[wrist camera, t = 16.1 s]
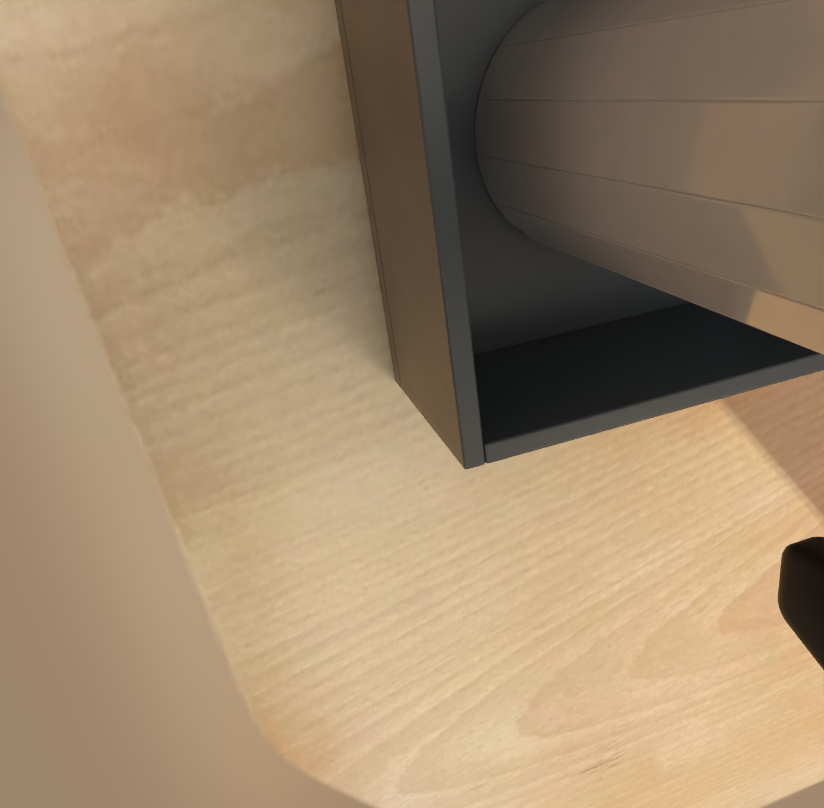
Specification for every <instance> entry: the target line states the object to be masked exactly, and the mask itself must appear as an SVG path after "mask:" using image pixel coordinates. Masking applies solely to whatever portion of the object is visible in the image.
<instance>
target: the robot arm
mask: <svg viewBox="0 0 824 808" xmlns="http://www.w3.org/2000/svg"><path fill="white" fill-rule="evenodd" d="M778 604H779V608H780V611H781V613H782V615H783V617H784V619H785V620H786V622H787V623H788V625H789V626H790V627H791V629H792V630H793V631H794V632H795V634H796V635H797V636H798V638H799V639H800V640H801V641H802V643H803V644H804V645H805V647H806V648H807V649H808V650H809V652H810V653H811V654H812V655H813V657H814V658H815V659H816V661H817V662H818V663H819V664H820V666H821V667H822V668H823V670H824V537H811V538H808V539H805V540H802V541H799V542H796V543H793V544H790V545H789V546H787V547H786V548H785V550H784V551H783V553H782V559H781V569H780V580H779V590H778Z"/></svg>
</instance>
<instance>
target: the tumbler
mask: <svg viewBox="0 0 824 808" xmlns="http://www.w3.org/2000/svg"><path fill="white" fill-rule="evenodd" d="M475 146H476V153H477V159H478V165H479V168H480V172H481V175H482V179H483V181H484V184H485V186H486V188H487V191H488V193H489V195H490V197H491V198H492V200H493V202H494V204H495V205H496V207H497V208H498V210H499V211H500V212H501V213H502V215H503V216H504V217H505V218H506V220H507V221H508V222H510V223H511V224H512V225H513V226H514V227H515V228H516V229H517V230H518V231H520V232H521V233H523V234H524V235H526V236H527V237H528V238H530V239H532V240H533V241H536V242H538V243H541V244H543V245H546V246H548V247H551V248H553V249H556V250H558V251H561V252H563V253H566V254H568V255H571V256H573V257H576V258H579V259H581V260H584V261H586V262H589V263H591V264H594V265H596V266H599V267H601V268H604V269H607V270H609V271H612V272H614V273H617V274H619V275H622V276H624V277H627V278H629V279H632V280H634V281H637V282H640V283H642V284H645V285H647V286H650V287H652V288H655V289H657V290H660V291H662V292H665V293H667V294H670V295H673V296H675V297H678V298H680V299H683V300H685V301H688V302H690V303H693V304H695V305H698V306H700V307H703V308H706V309H708V310H711V311H713V312H716V313H718V314H721V315H723V316H726V317H728V318H731V319H734V320H736V321H739V322H741V323H744V324H746V325H749V326H751V327H754V328H756V329H759V330H761V331H764V332H767V333H769V334H772V335H774V336H777V337H779V338H782V339H784V340H787V341H789V342H792V343H794V344H797V345H800V346H802V347H805V348H807V349H810V350H812V351H815V352H817V353H820V354H822V355H824V0H543V1H542V2H540V3H539V4H537V5H536V6H535V7H533V8H532V9H531V10H530V11H528V12H527V13H526V14H525V15H524V16H523V17H522V18H521V19H520V20H519V21H518V22H517V23H516V24H515V25H514V26H513V27H512V29H511V30H510V31H509V33H508V34H507V35H506V37H505V38H504V39H503V40H502V42H501V44H500V46H499V47H498V49H497V51H496V52H495V54H494V56H493V58H492V60H491V62H490V64H489V67H488V69H487V71H486V73H485V77H484V80H483V83H482V86H481V89H480V93H479V98H478V103H477V108H476V119H475Z"/></svg>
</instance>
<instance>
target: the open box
mask: <svg viewBox="0 0 824 808" xmlns="http://www.w3.org/2000/svg"><path fill="white" fill-rule="evenodd" d="M542 1H543V0H335V4H336V10H337V16H338V23H339V29H340V35H341V41H342V48H343V54H344V60H345V66H346V73H347V79H348V85H349V91H350V98H351V104H352V110H353V116H354V123H355V129H356V135H357V142H358V148H359V154H360V160H361V167H362V173H363V179H364V185H365V192H366V198H367V204H368V210H369V217H370V223H371V229H372V236H373V242H374V248H375V254H376V261H377V267H378V273H379V279H380V286H381V292H382V298H383V304H384V311H385V317H386V323H387V329H388V336H389V342H390V348H391V355H392V361H393V367H394V373H395V380H396V382H397V384H398V385H399V386H400V387H401V388H402V390H403V391H404V392H405V394H406V395H407V396H408V397H409V399H410V400H411V401H412V402H413V404H414V405H415V406H416V408H417V409H418V410H419V411H420V413H421V414H422V415H423V416H424V418H425V419H426V420H427V422H428V423H429V424H430V425H431V427H432V428H433V429H434V430H435V432H436V433H437V434H438V436H439V437H440V438H441V439H442V441H443V442H444V443H445V444H446V446H447V447H448V448H449V450H450V451H451V452H452V453H453V455H454V456H455V457H456V458H457V460H458V461H459V462H460V464H461V465H462V466H463V467H464V469H469V468H473V467H477V466H480V465H483V464H485V462H486V463H491V462H494V461H498V460H502V459H505V458H509V457H512V456H516V455H520V454H523V453H527V452H530V451H534V450H538V449H541V448H545V447H548V446H552V445H556V444H559V443H563V442H566V441H570V440H574V439H577V438H581V437H584V436H588V435H592V434H595V433H599V432H602V431H606V430H610V429H613V428H617V427H620V426H624V425H628V424H631V423H635V422H638V421H642V420H645V419H649V418H653V417H656V416H660V415H663V414H667V413H671V412H674V411H678V410H681V409H685V408H689V407H692V406H696V405H699V404H703V403H707V402H710V401H714V400H717V399H721V398H725V397H728V396H732V395H735V394H739V393H743V392H746V391H750V390H753V389H757V388H761V387H764V386H768V385H771V384H775V383H779V382H782V381H786V380H789V379H793V378H797V377H800V376H804V375H807V374H811V373H814V372H818V371H822V370H824V355H822V354H820V353H817V352H815V351H812V350H810V349H807V348H805V347H802V346H800V345H797V344H794V343H792V342H789V341H787V340H784V339H782V338H779V337H777V336H774V335H772V334H769V333H767V332H764V331H761V330H759V329H756V328H754V327H751V326H749V325H746V324H744V323H741V322H739V321H736V320H734V319H731V318H728V317H726V316H723V315H721V314H718V313H716V312H713V311H711V310H708V309H706V308H703V307H700V306H698V305H695V304H693V303H690V302H688V301H685V300H683V299H680V298H678V297H675V296H673V295H670V294H667V293H665V292H662V291H660V290H657V289H655V288H652V287H650V286H647V285H645V284H642V283H640V282H637V281H634V280H632V279H629V278H627V277H624V276H622V275H619V274H617V273H614V272H612V271H609V270H607V269H604V268H601V267H599V266H596V265H594V264H591V263H589V262H586V261H584V260H581V259H579V258H576V257H573V256H571V255H568V254H566V253H563V252H561V251H558V250H556V249H553V248H551V247H548V246H546V245H543V244H541V243H538V242H536V241H533V240H532V239H530V238H528V237H527V236H526V235H524V234H523V233H521V232H520V231H518V230H517V229H516V228H515V227H514V226H513V225H512V224H511V223H510V222H508V221H507V220H506V218H505V217H504V216H503V215H502V213H501V212H500V211H499V210H498V208H497V207H496V205H495V204H494V202H493V200H492V198H491V197H490V195H489V193H488V191H487V188H486V186H485V184H484V181H483V179H482V175H481V172H480V168H479V165H478V159H477V153H476V146H475V119H476V108H477V103H478V98H479V93H480V89H481V86H482V83H483V80H484V77H485V73H486V71H487V69H488V67H489V64H490V62H491V60H492V58H493V56H494V54H495V52H496V51H497V49H498V47H499V46H500V44H501V42H502V40H503V39H504V38H505V37H506V35H507V34H508V33H509V31H510V30H511V29H512V27H513V26H514V25H515V24H516V23H517V22H518V21H519V20H520V19H521V18H522V17H523V16H524V15H525V14H526V13H527V12H528V11H530V10H531V9H532V8H533V7H535V6H536V5H537V4H539V3H540V2H542Z"/></svg>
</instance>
